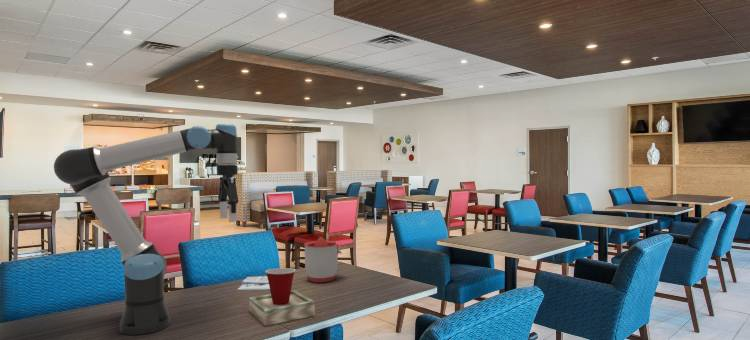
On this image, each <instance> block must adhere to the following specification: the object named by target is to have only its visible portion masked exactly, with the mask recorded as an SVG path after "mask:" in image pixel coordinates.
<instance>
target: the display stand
mask: <svg viewBox="0 0 750 340" xmlns="http://www.w3.org/2000/svg"><path fill="white" fill-rule="evenodd" d="M248 299H249V300H248V301H249V303H248V304H249V313H251V314H252V315H253V316H254V317H255V318H256V319H257V320H259V321H260V323H262V324H263V325H264V326H265V327H267V326H272V325H276V324H280V323H281V324H282V323H286V322H291V321H296V320H299V319H305V318H309V317H315V316H316V311H315V310H316V306H315V305H316V304H315V303H316V302H315V301H314V300H313V299H311V298H309V297H307V296H306V295H305V294H303V293H301V292H300V291H298V290H296V289H293V290H292V289H291V293H290V300H289V303H287V304H284V305H275V304H273V302H272V296H271V293H269V294H263V295H257V296H251V297H249V298H248Z"/></svg>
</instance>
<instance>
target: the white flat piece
mask: <svg viewBox="0 0 750 340" xmlns="http://www.w3.org/2000/svg"><path fill="white" fill-rule="evenodd" d="M236 290H237V291H270V287H269V281H268V277H267V275H260V276H247V277H246V278H244V279H243V280H242V281H241V285H240V286H239V287H238V288H237V289H236Z"/></svg>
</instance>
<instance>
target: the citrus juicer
mask: <svg viewBox="0 0 750 340" xmlns="http://www.w3.org/2000/svg"><path fill="white" fill-rule="evenodd" d="M303 245H304V266H305V267H304V268H305V272H306V276H307V278H308V281H310V282H313V283H327V282H328V283H330V282H332V281H333V280H335V278H336V276H337V271H338V270H337V269H338V265H339V264H338V262H339V261H338V260H339V259H338V258H339V257H338V256H339V254H340V255H341V254H342V255H343V252H342V251H341V250H340V249H339V244H338V243H336V241H334V240H327V239H325V238H323V236H319V237H318V238H317V240H312V241H307V242H304V243H303ZM329 281H330V282H329Z"/></svg>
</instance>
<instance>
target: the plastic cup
mask: <svg viewBox="0 0 750 340" xmlns="http://www.w3.org/2000/svg"><path fill="white" fill-rule="evenodd" d="M295 272H296V269H295V268H289V267H288V268H287V267H286V268H285V267H283V268H282V267H281V268H280V267H279V268H277V267H276V268H270V269H269V268H268V269H266V270H265V274H266V276H267V277H268V281H269V287H270V290H269V292H270V294H271V296H272V302H273V304H275V305H284V304H287V303H289V300H290V293H291V290H292V288H293V287H292V286H293V280H294V276H295Z"/></svg>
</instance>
